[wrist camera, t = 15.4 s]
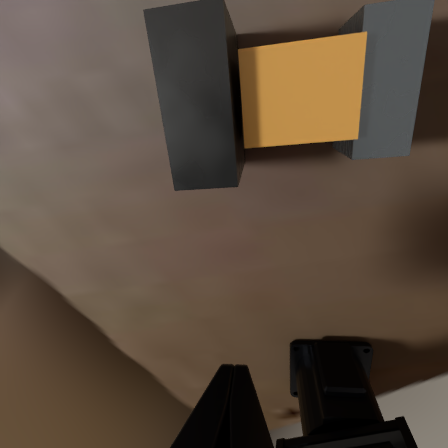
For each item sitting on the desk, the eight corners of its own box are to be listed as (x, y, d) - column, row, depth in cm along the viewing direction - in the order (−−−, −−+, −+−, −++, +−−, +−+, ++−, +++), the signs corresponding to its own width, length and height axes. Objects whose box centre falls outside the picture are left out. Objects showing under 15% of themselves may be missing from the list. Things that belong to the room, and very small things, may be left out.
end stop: (245, 161, 18) (238, 186, 13) (200, 164, 18) (174, 190, 13) (236, 34, 15) (222, -4, 10) (184, 41, 16) (143, 10, 10)
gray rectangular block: (376, 143, 16) (409, 155, 13) (332, 147, 17) (351, 159, 13) (390, 22, 14) (435, -6, 10) (338, 29, 14) (364, 5, 11)
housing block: (331, 129, 17) (357, 139, 12) (248, 136, 18) (244, 148, 13) (335, 52, 15) (367, 31, 11) (244, 64, 16) (238, 49, 11)
